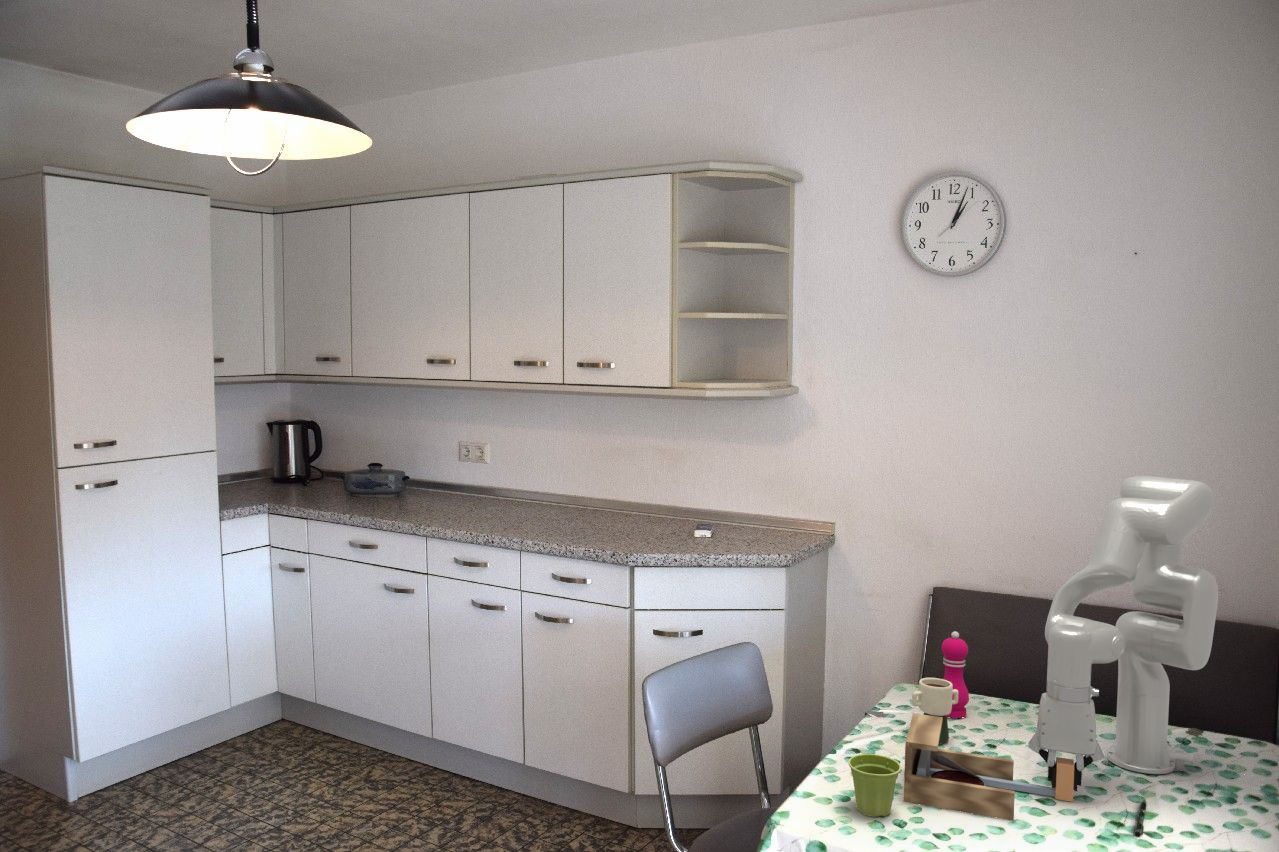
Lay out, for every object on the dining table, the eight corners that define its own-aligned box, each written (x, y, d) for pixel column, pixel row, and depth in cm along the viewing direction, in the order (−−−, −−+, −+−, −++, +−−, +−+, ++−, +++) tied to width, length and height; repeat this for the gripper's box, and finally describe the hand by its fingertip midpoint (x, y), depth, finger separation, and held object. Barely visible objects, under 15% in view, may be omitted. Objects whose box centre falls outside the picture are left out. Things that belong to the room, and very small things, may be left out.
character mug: (948, 733, 212) (950, 676, 211) (964, 745, 205) (967, 686, 204) (903, 735, 210) (905, 678, 209) (918, 748, 203) (920, 688, 202)
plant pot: (890, 827, 166) (892, 779, 166) (839, 813, 171) (841, 766, 171) (906, 807, 174) (907, 761, 174) (856, 794, 179) (858, 749, 179)
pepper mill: (970, 721, 219) (973, 636, 218) (938, 718, 221) (941, 634, 220) (966, 710, 227) (969, 628, 226) (934, 708, 228) (937, 626, 227)
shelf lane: (1012, 785, 185) (1015, 727, 184) (1013, 820, 169) (1016, 758, 169) (911, 768, 192) (913, 713, 191) (903, 801, 176) (905, 741, 176)
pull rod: (1071, 795, 180) (1073, 759, 180) (1077, 826, 167) (1078, 788, 167) (922, 771, 190) (923, 737, 190) (916, 799, 177) (917, 762, 177)
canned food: (928, 812, 183) (919, 758, 187) (981, 808, 183) (970, 754, 187) (941, 808, 173) (931, 751, 177) (997, 804, 172) (985, 747, 177)
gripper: (1114, 691, 179) (1109, 786, 180) (1021, 680, 185) (1017, 772, 186) (1118, 703, 172) (1114, 802, 173) (1021, 691, 178) (1018, 787, 179)
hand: (1064, 785), depth 179 cm, fingers closed on pull rod, 3 cm apart
